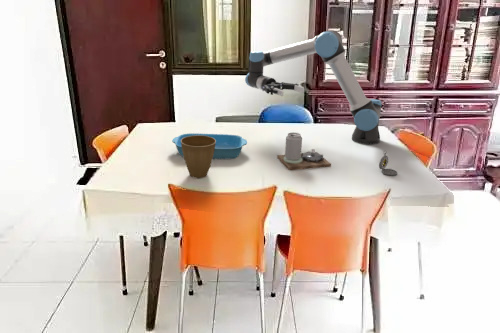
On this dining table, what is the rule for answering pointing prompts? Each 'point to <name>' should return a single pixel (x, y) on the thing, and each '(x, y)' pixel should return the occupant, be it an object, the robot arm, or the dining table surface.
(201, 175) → the plant pot
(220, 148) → the casserole dish
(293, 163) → the output pad
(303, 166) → the gear board
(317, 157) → the gear
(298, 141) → the can
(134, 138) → the dining table surface
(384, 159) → the pocket watch
